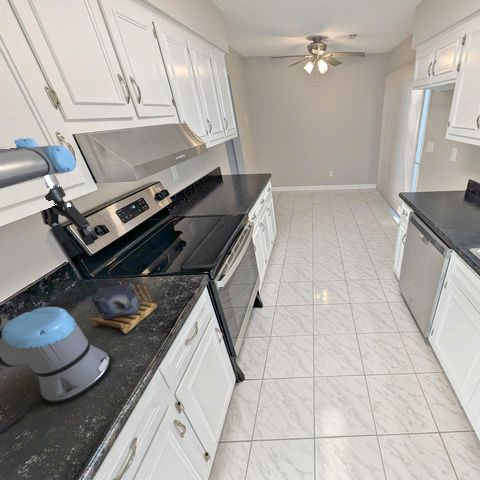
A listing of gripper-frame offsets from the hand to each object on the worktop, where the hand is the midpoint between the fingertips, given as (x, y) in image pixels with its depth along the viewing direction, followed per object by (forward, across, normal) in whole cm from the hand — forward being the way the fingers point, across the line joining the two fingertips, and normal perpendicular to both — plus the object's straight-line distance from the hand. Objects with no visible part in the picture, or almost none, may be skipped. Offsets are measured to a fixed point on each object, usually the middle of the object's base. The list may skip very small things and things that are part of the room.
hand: (77, 242), depth 96 cm
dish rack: (+27, -19, +7) cm, 34 cm away
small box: (+24, -19, +8) cm, 32 cm away
